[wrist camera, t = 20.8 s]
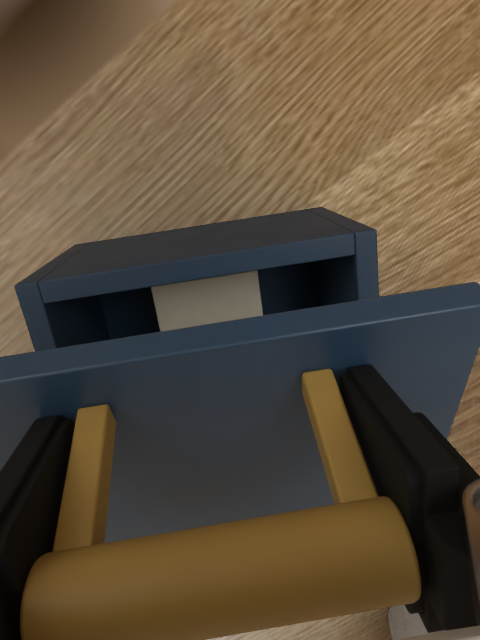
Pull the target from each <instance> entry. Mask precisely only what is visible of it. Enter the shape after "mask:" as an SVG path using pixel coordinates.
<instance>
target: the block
mask: <svg viewBox="0 0 480 640" xmlns="http://www.w3.org/2000/svg"><path fill="white" fill-rule="evenodd" d="M151 291H152V295H153V300H154V305H155V309H156V314H157V319H158V323H159V328H160V332H162V331H168V330H174V329H181V328H187V327H193V326H200V325H206V324H212V323H218V322H225V321H231V320H237V319H244V318H250V317H256V316H263V310H262V302H261V295H260V287H259V279H258V272H257V270H256V271H250V272H243V273H237V274H230V275H224V276H218V277H211V278H205V279H198V280H192V281H186V282H179V283H173V284H166V285H160V286H154V287H151Z"/></svg>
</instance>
